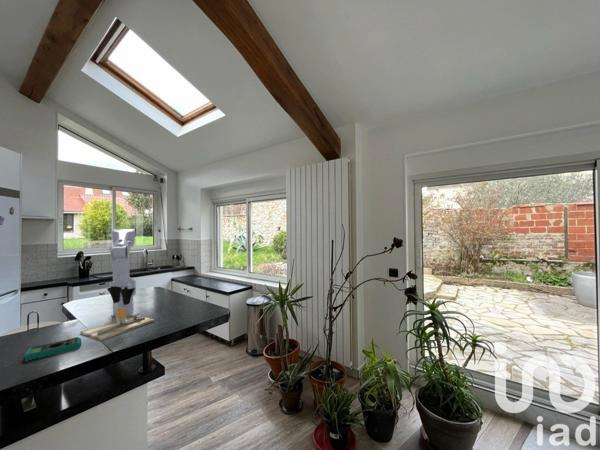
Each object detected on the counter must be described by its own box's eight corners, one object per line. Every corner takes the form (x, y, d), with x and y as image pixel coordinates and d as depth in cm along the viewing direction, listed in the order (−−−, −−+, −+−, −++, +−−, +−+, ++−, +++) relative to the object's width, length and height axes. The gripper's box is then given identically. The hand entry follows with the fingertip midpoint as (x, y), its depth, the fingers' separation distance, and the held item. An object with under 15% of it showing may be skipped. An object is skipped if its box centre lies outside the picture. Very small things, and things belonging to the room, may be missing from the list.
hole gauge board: (80, 333, 112) (80, 325, 112) (133, 316, 131) (133, 309, 131) (100, 340, 104) (100, 331, 104) (153, 321, 124) (153, 313, 124)
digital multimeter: (81, 349, 98) (81, 341, 98) (24, 363, 89) (23, 354, 89) (81, 342, 104) (81, 335, 104) (28, 355, 95) (27, 347, 95)
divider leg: (115, 324, 118) (115, 309, 118) (123, 322, 121) (122, 307, 121) (123, 326, 115) (122, 311, 115) (130, 324, 118) (130, 309, 118)
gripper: (101, 273, 118) (102, 304, 118) (120, 275, 112) (121, 308, 112) (118, 271, 124) (119, 299, 124) (137, 272, 118) (138, 303, 118)
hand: (121, 303), depth 119 cm, fingers open, 7 cm apart
